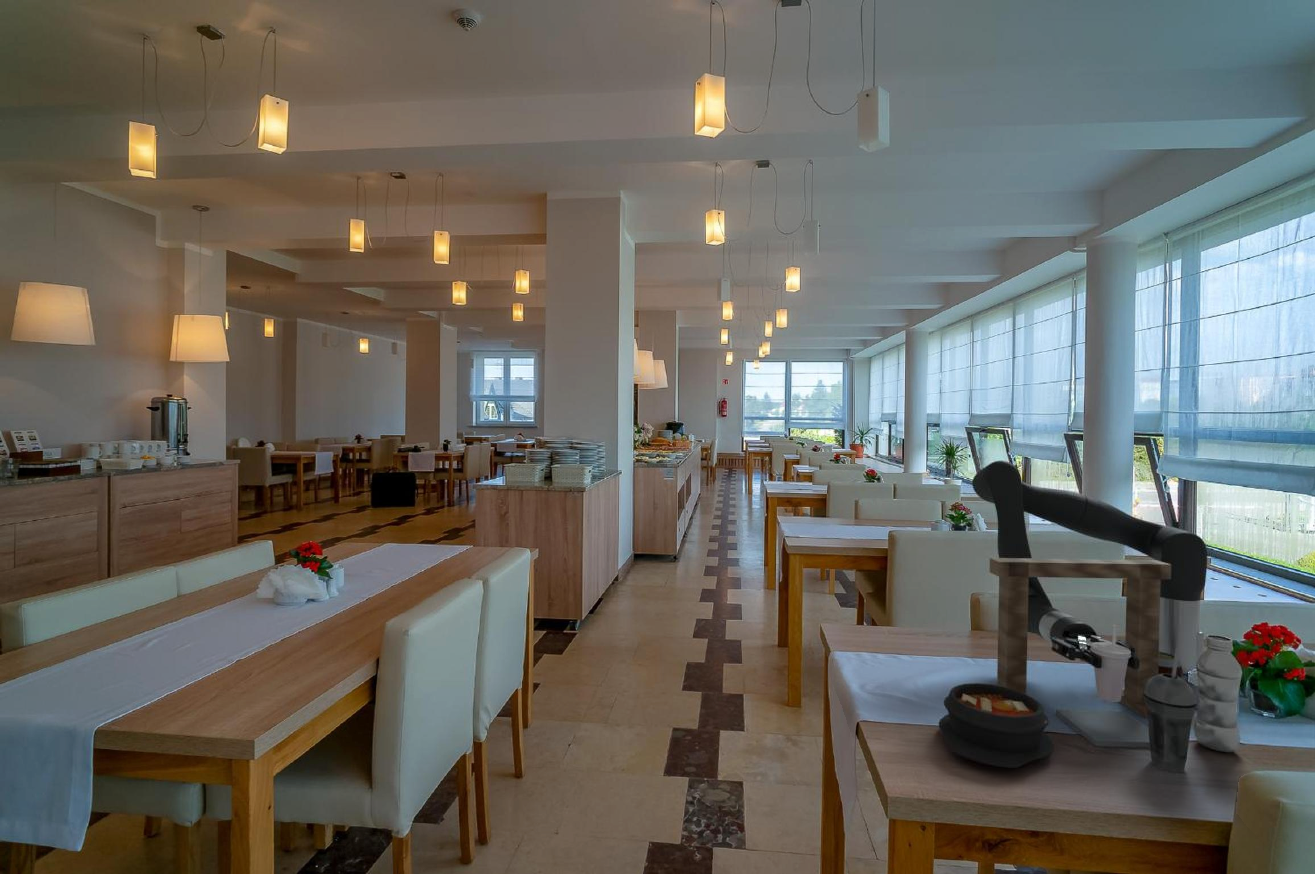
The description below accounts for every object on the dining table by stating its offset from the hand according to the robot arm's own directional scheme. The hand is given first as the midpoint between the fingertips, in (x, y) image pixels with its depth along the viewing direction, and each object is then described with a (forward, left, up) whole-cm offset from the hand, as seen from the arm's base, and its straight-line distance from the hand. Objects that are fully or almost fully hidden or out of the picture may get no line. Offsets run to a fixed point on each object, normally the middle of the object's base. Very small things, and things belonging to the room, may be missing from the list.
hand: (1118, 663), depth 123 cm
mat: (0, -2, -14) cm, 14 cm away
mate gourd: (-17, -26, -14) cm, 34 cm away
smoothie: (+1, -2, -8) cm, 8 cm away
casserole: (+22, +11, -14) cm, 28 cm away
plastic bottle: (-16, 0, -14) cm, 21 cm away
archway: (+3, -13, -14) cm, 19 cm away
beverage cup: (-5, +10, -14) cm, 17 cm away
